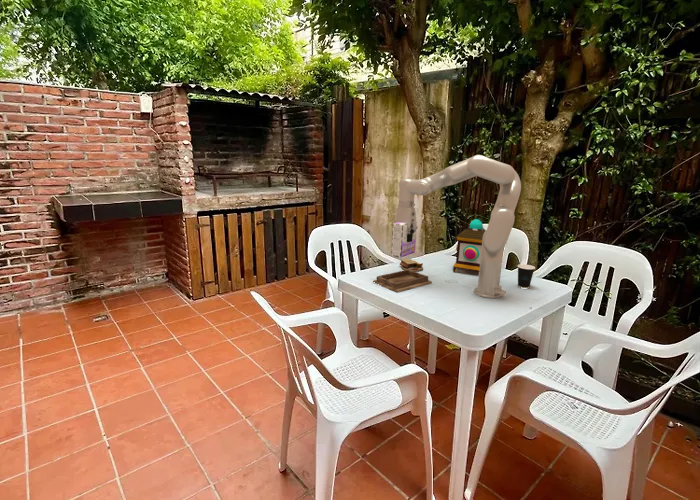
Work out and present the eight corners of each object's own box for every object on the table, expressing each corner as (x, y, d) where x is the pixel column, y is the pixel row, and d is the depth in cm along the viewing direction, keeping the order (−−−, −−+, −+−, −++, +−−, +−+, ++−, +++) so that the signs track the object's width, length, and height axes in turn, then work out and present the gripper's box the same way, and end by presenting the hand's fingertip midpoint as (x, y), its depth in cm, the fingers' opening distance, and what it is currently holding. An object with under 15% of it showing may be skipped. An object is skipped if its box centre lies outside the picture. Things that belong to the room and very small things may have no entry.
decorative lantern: (486, 278, 198) (492, 223, 191) (449, 272, 207) (454, 219, 200) (492, 269, 215) (498, 218, 208) (458, 264, 224) (463, 215, 217)
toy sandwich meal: (409, 273, 206) (409, 265, 205) (396, 266, 218) (396, 259, 217) (427, 270, 211) (428, 262, 210) (414, 264, 223) (414, 257, 222)
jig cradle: (431, 283, 189) (432, 276, 188) (397, 292, 175) (397, 285, 174) (406, 274, 203) (406, 268, 202) (372, 282, 189) (373, 275, 188)
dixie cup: (525, 284, 190) (528, 263, 187) (535, 289, 182) (538, 268, 179) (511, 285, 188) (514, 264, 185) (521, 290, 180) (524, 269, 178)
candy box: (405, 250, 192) (407, 219, 188) (415, 252, 189) (417, 221, 185) (390, 255, 182) (392, 222, 178) (400, 257, 178) (402, 224, 174)
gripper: (425, 206, 175) (422, 242, 179) (399, 202, 188) (397, 236, 192) (413, 207, 170) (411, 244, 175) (388, 202, 184) (386, 238, 188)
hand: (404, 240), depth 184 cm, fingers closed on candy box, 6 cm apart
